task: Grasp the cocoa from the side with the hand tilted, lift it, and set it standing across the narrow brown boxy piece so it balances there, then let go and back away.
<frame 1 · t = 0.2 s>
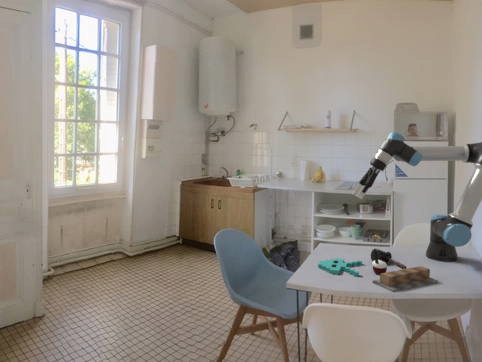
hand: (356, 196, 201), 35 cm above the table, tool tilted 35°, fingers open, 13 cm apart
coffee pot: (388, 265, 203), on the table
brown boxy piece: (405, 282, 178), on the table
cocoa: (379, 274, 190), on the table
alien figure: (339, 269, 199), on the table
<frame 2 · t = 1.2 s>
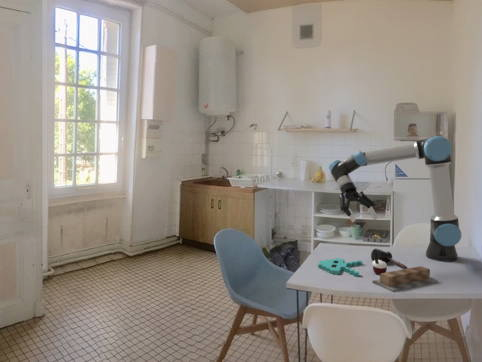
hand: (365, 219, 197), 24 cm above the table, tool tilted 45°, fingers open, 13 cm apart
nothing on the table moved.
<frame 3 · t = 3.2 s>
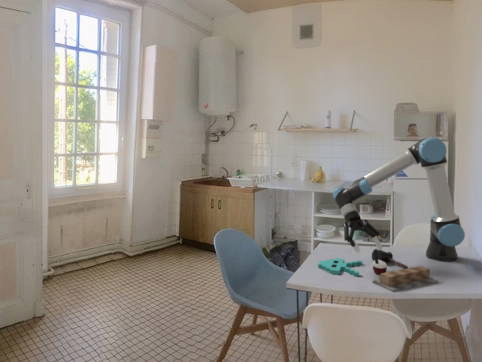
hand: (369, 250, 193), 10 cm above the table, tool tilted 45°, fingers open, 13 cm apart
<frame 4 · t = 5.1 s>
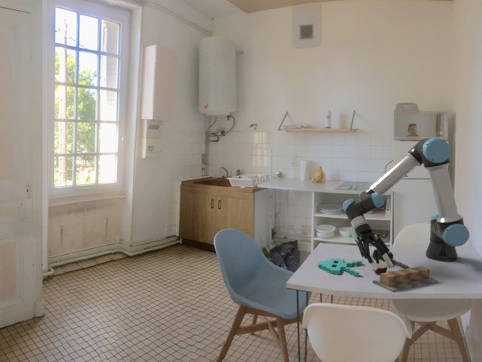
hand: (383, 267, 186), 4 cm above the table, tool tilted 45°, fingers closed on cocoa, 8 cm apart
cocoa: (379, 273, 190), on the table, touching gripper
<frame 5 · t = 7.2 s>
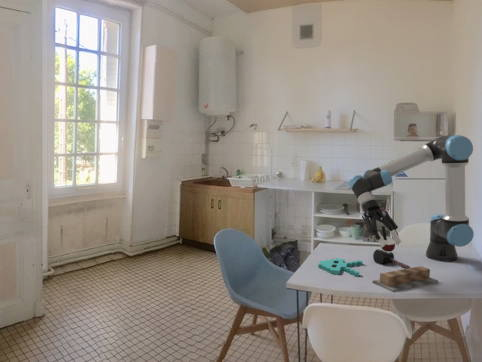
hand: (391, 244, 180), 16 cm above the table, tool tilted 45°, fingers closed on cocoa, 8 cm apart
cocoa: (387, 250, 183), point 12 cm above the table, touching gripper
when the fingers open (10 cm above the table, at t = 9.4 s): cocoa stays where it is, resting on brown boxy piece.
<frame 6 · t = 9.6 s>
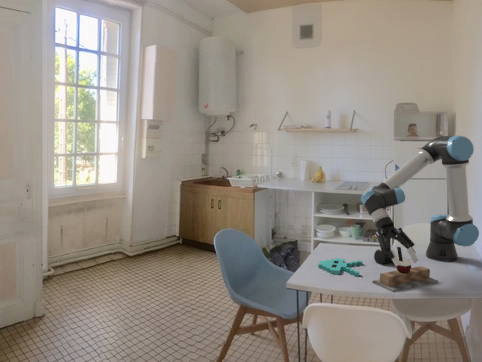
hand: (407, 263, 173), 10 cm above the table, tool tilted 45°, fingers open, 10 cm apart
cocoa: (402, 272, 176), point 5 cm above the table, touching brown boxy piece
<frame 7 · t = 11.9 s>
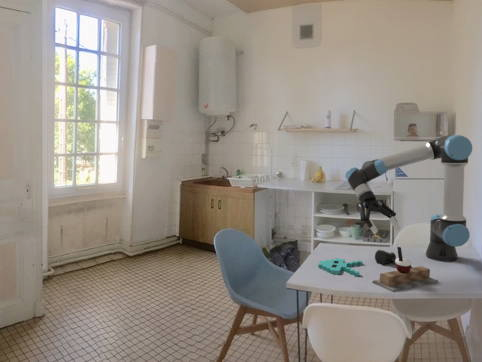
hand: (387, 231, 186), 21 cm above the table, tool tilted 45°, fingers open, 13 cm apart
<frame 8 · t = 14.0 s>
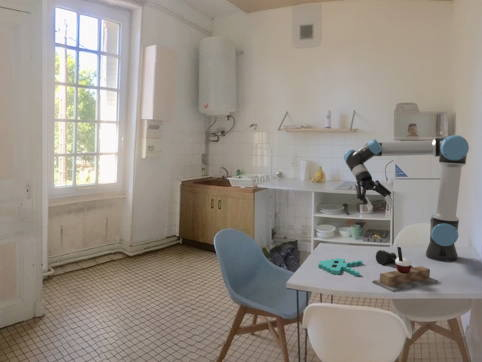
hand: (382, 207, 197), 30 cm above the table, tool tilted 45°, fingers open, 13 cm apart
at the end: cocoa inside the target area (1.5 cm from its centre), point 4.8 cm above the table; cocoa tilted 0°; cocoa touching brown boxy piece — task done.
